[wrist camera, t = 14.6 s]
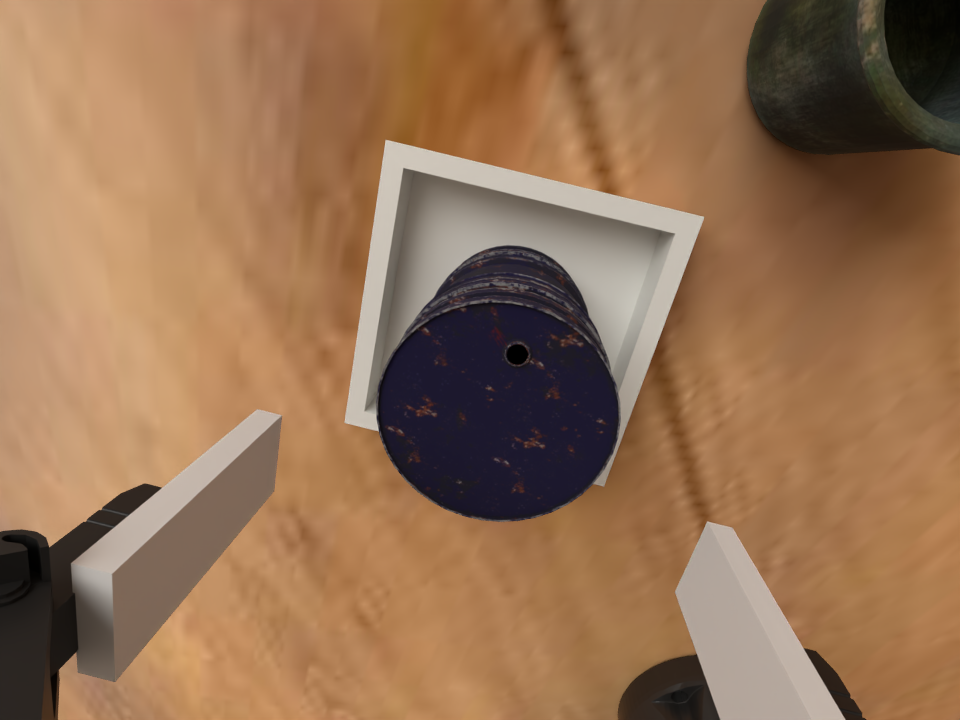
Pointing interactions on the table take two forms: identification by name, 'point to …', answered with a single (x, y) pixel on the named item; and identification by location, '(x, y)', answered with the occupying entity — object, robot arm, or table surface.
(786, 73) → the mug
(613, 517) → the table surface
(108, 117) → the table surface
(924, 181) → the table surface
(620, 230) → the tray
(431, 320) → the dark blue canister
